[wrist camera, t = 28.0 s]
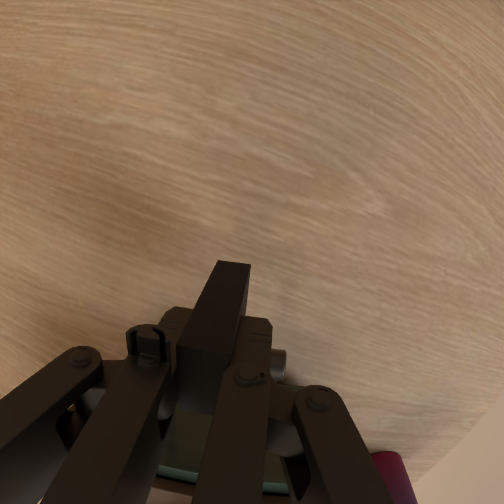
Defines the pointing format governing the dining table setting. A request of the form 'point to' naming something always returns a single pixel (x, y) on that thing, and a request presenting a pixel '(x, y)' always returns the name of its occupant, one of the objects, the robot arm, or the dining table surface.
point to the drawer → (195, 437)
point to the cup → (395, 477)
